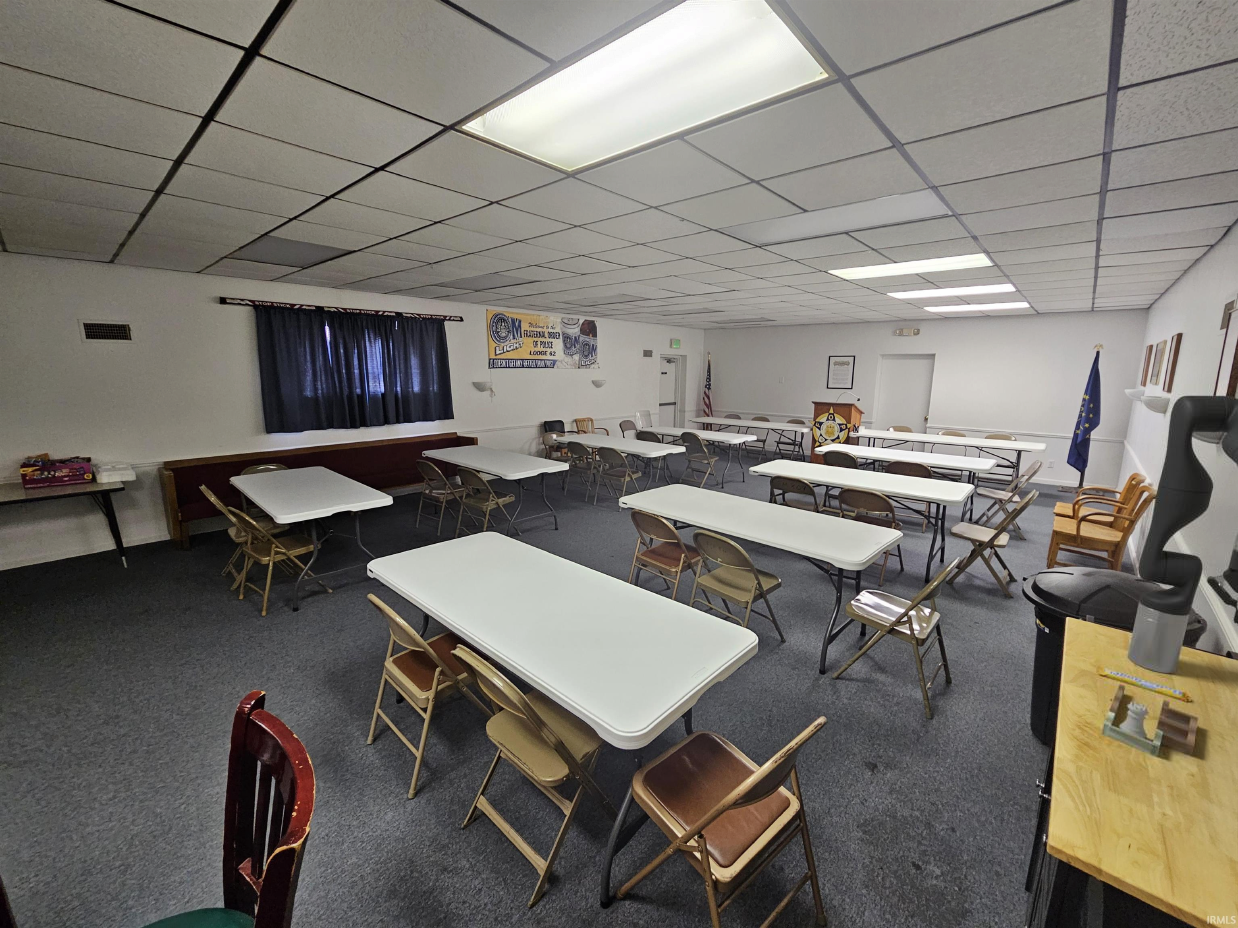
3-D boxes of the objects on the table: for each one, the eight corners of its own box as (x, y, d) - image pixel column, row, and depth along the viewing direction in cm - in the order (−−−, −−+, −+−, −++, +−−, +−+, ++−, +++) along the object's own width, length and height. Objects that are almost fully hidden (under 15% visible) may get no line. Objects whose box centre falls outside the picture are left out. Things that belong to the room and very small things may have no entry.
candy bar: (1188, 697, 121) (1190, 691, 120) (1190, 705, 118) (1192, 699, 117) (1095, 669, 132) (1097, 663, 132) (1095, 676, 130) (1096, 669, 129)
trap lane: (1118, 692, 122) (1119, 684, 122) (1196, 720, 112) (1198, 711, 112) (1101, 733, 108) (1103, 724, 108) (1189, 770, 98) (1192, 760, 98)
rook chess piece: (1129, 728, 110) (1136, 698, 108) (1152, 743, 106) (1159, 711, 104) (1111, 729, 110) (1118, 699, 108) (1133, 744, 105) (1141, 712, 104)
